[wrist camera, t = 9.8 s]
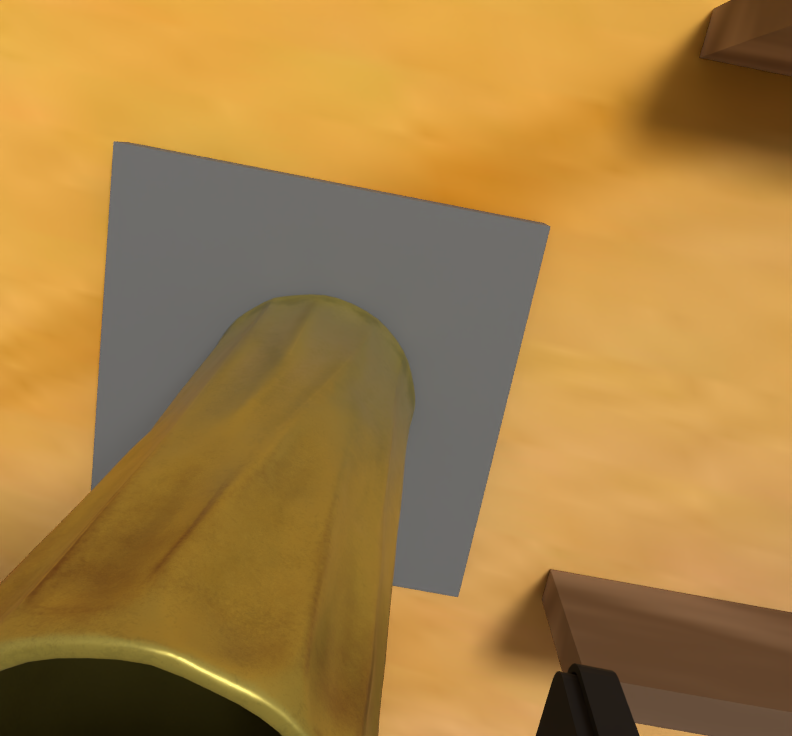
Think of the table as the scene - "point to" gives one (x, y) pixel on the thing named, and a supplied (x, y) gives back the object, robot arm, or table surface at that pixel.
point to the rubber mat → (321, 275)
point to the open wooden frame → (678, 612)
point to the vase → (229, 549)
